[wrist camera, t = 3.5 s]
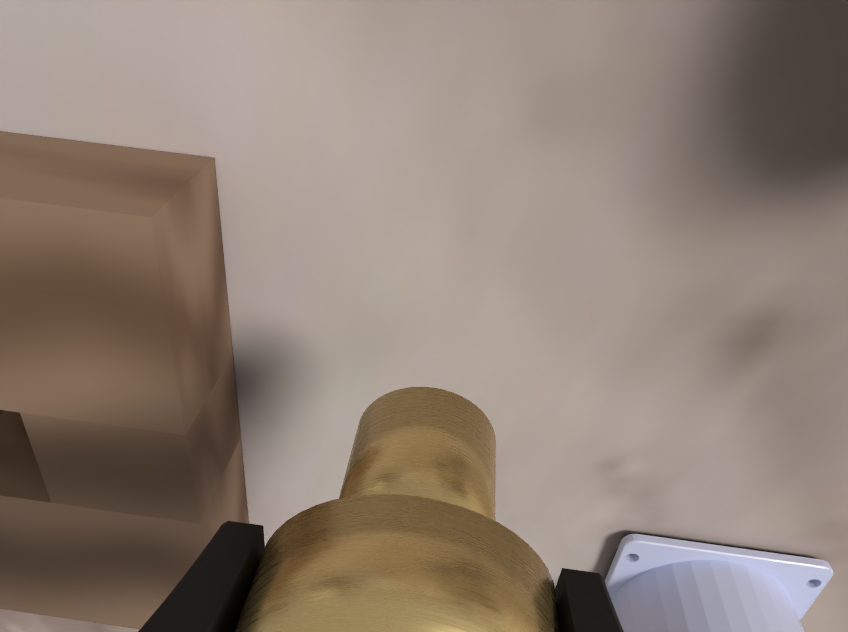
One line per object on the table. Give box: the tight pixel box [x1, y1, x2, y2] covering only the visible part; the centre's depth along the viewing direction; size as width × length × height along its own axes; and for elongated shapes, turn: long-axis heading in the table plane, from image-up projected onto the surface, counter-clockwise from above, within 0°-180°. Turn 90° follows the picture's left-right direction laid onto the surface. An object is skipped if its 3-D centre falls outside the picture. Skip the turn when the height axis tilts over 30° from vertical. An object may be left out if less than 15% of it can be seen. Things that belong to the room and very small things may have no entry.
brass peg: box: [234, 387, 559, 632], centre depth 11 cm, size 5×5×6 cm
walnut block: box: [0, 131, 249, 629], centre depth 22 cm, size 18×14×4 cm
